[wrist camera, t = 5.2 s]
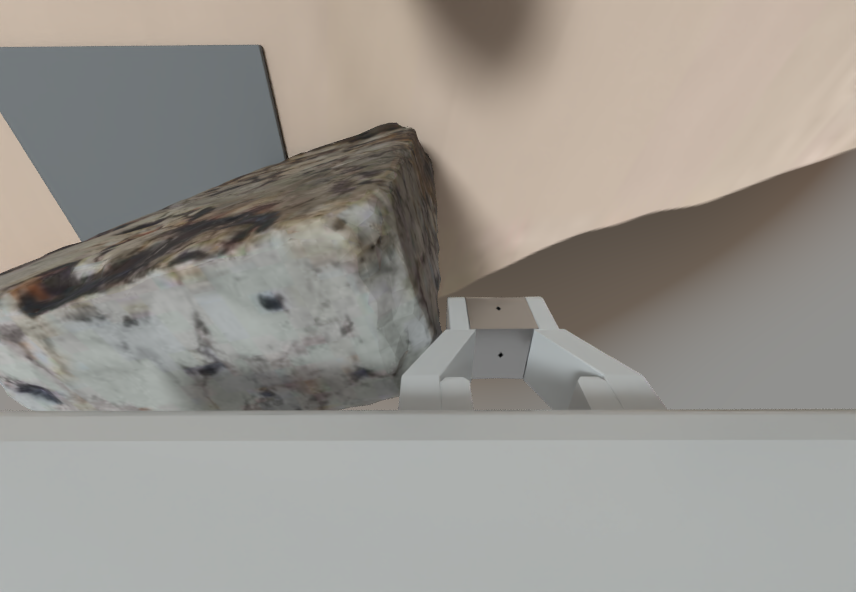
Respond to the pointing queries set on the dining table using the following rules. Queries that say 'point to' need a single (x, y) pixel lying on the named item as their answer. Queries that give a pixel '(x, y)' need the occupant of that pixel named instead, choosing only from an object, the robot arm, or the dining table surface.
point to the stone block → (240, 292)
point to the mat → (138, 124)
